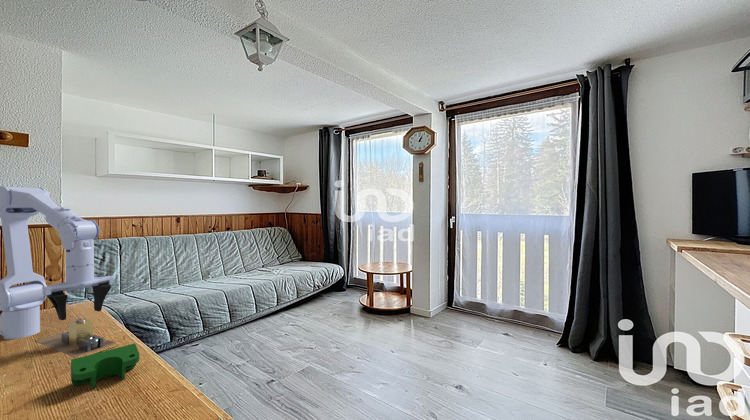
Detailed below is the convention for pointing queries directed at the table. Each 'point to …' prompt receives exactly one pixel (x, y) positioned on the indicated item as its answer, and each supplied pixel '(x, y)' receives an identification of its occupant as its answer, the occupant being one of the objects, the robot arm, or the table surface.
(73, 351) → the board
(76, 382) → the clamp
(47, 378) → the table surface
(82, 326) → the brushed brass block
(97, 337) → the steel ball guide
